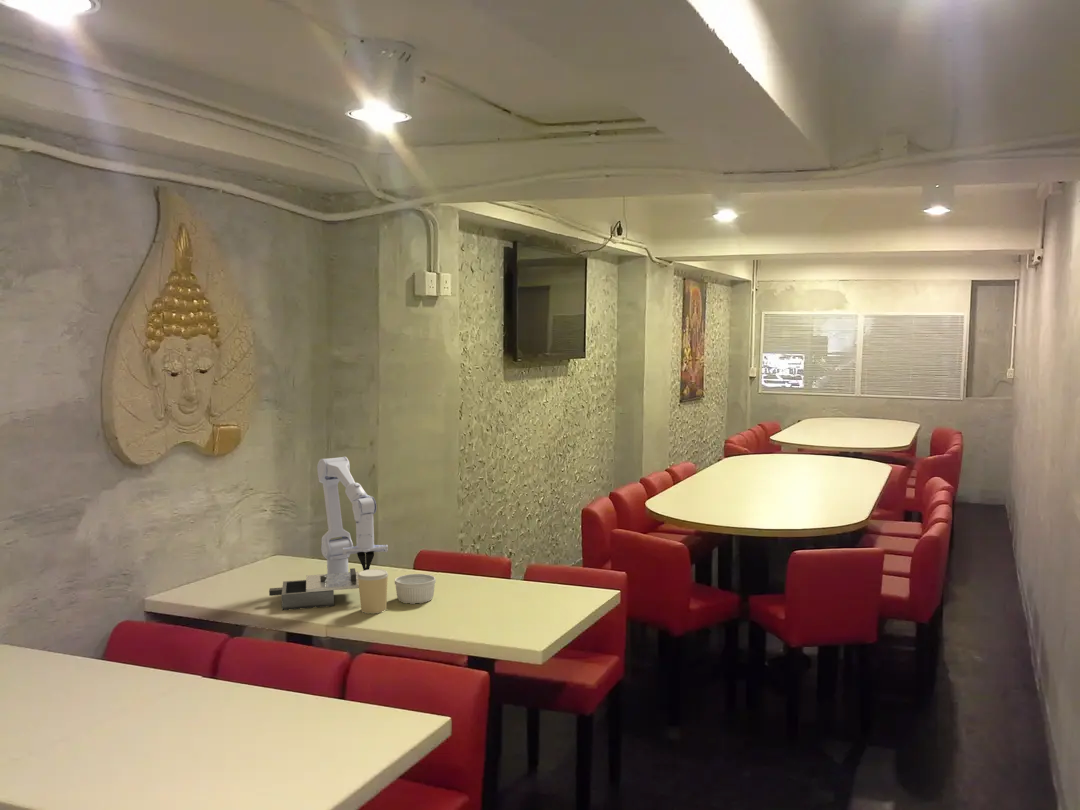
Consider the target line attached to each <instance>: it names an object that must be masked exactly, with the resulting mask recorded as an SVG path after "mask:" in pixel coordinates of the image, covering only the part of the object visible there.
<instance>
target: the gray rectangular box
mask: <svg viewBox="0 0 1080 810" xmlns="http://www.w3.org/2000/svg"><path fill="white" fill-rule="evenodd" d="M334 591H335V590H330V591H317V592H306V579H299V580H298V579H297V580H286V581H282V587H270V588H269V591H268V593H269V597H272V596H281V610H282V611H289V609H293V610H301V609H300V608H305V609H314V608H313V607H317V608H326V606H329V607H335V592H334Z"/></svg>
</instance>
